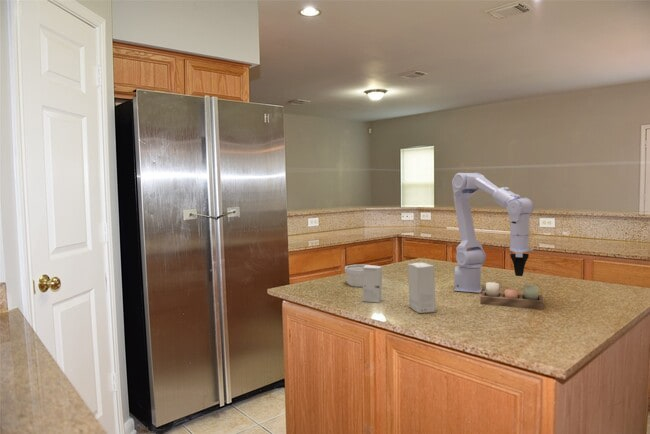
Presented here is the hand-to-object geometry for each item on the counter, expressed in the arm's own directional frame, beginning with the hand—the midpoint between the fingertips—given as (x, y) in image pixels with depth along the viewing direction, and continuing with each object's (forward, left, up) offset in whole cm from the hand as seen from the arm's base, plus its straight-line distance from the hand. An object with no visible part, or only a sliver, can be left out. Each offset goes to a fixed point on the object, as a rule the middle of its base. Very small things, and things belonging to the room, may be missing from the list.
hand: (519, 275), depth 152 cm
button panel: (-2, 0, -10) cm, 10 cm away
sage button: (+4, 0, -7) cm, 8 cm away
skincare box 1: (-47, -13, -10) cm, 49 cm away
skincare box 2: (-29, -18, -10) cm, 35 cm away
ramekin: (-59, +10, -10) cm, 60 cm away
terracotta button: (-2, 0, -9) cm, 9 cm away
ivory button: (-8, 0, -7) cm, 11 cm away
